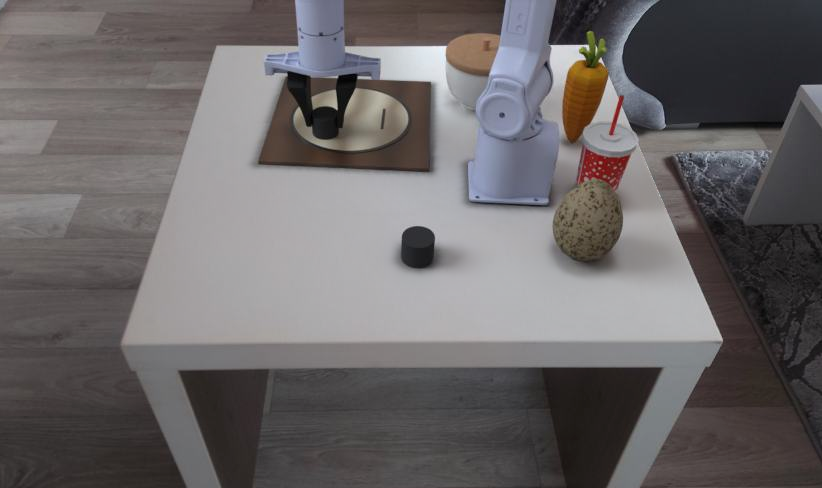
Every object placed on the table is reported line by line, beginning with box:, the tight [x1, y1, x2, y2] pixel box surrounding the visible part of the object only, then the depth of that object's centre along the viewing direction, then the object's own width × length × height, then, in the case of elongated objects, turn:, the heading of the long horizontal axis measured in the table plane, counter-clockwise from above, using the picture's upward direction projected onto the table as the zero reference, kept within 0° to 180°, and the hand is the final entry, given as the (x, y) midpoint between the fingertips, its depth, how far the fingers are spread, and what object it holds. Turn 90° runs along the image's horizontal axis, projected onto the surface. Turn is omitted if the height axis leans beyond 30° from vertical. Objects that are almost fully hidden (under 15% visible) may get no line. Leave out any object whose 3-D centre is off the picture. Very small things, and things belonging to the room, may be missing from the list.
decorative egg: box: [552, 179, 624, 262], centre depth 74 cm, size 7×7×10 cm
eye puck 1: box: [311, 106, 339, 140], centre depth 93 cm, size 4×4×3 cm
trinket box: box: [444, 32, 501, 112], centre depth 98 cm, size 11×11×9 cm
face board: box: [257, 75, 432, 173], centre depth 97 cm, size 22×22×1 cm
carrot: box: [561, 30, 610, 144], centre depth 88 cm, size 5×5×15 cm
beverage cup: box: [574, 94, 640, 194], centre depth 79 cm, size 6×6×14 cm
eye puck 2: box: [400, 225, 436, 269], centre depth 76 cm, size 4×4×3 cm
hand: (325, 123), depth 93 cm, fingers closed on eye puck 1, 3 cm apart
